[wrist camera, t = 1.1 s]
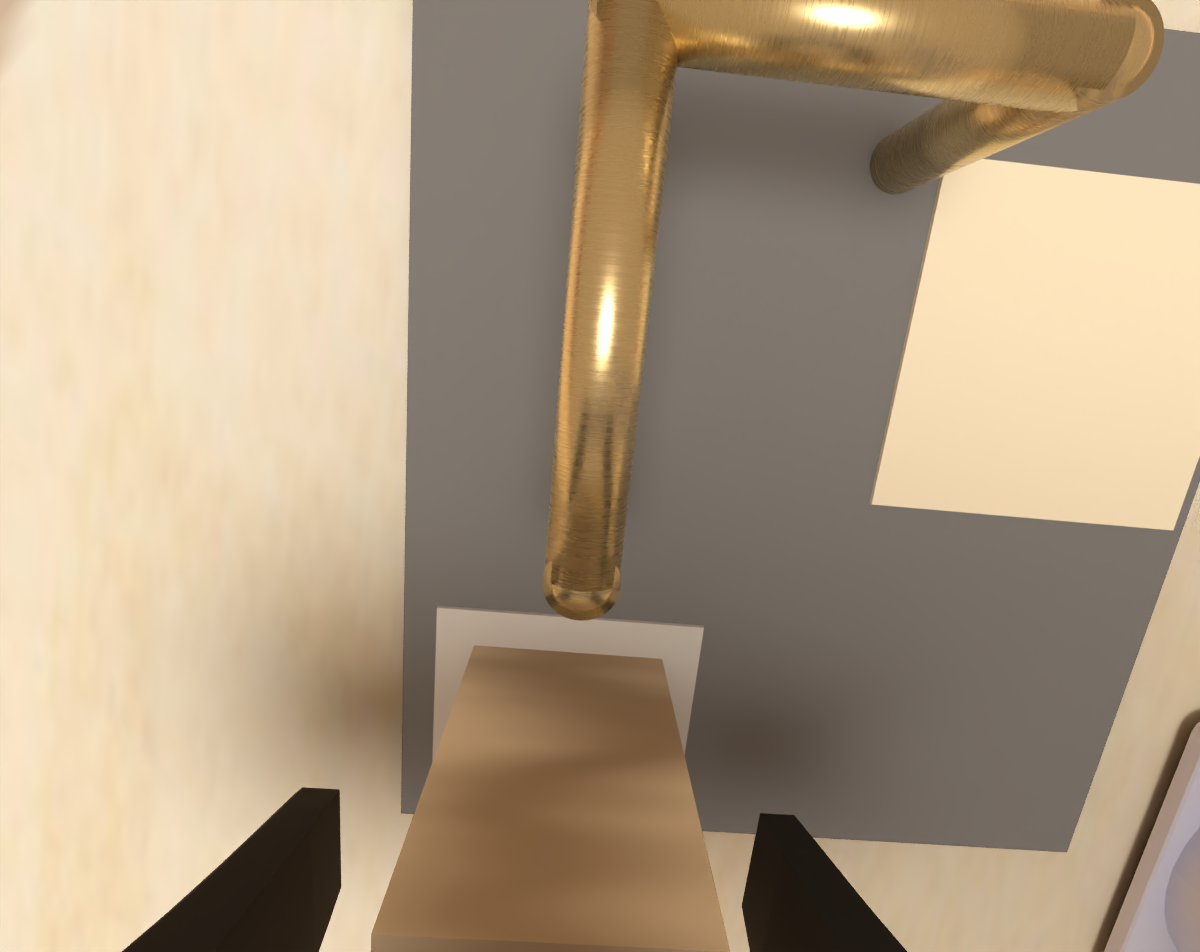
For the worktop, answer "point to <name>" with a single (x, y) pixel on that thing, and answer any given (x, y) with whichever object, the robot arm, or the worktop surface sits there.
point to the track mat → (815, 429)
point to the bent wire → (898, 164)
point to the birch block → (555, 817)
